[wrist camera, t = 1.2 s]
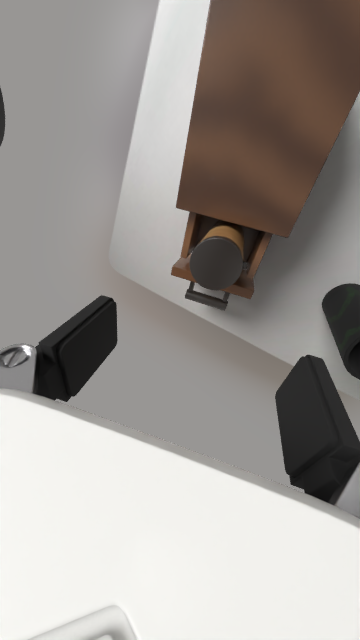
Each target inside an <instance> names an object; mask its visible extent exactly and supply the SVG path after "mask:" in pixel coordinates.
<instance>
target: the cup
mask: <svg viewBox="0 0 360 640" xmlns="http://www.w3.org/2000/svg"><path fill="white" fill-rule="evenodd" d="M322 308H323V311H324V313H325V316H326V319H327V321H328V324H329V326H330V329H331V332H332V334H333V337H334V340H335V342H336V345H337V347H338V350H339V353H340V355H341V358H342V360H343V363H344V365H345V367H346V369H347V371H348V372H349V373H350V374H351V375H352V376H354V377H356V378H358V379H359V380H360V285H358V284H343V285H340V286H337V287H335V288H333V289H332V290H331V291H329V292H328V293H327V294H326V295H325V297H324V299H323V302H322Z"/></svg>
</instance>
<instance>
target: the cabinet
mask: <svg viewBox="0 0 360 640" xmlns="http://www.w3.org/2000/svg"><path fill="white" fill-rule="evenodd" d="M359 92H360V0H210V6H209V12H208V18H207V24H206V30H205V36H204V42H203V48H202V54H201V60H200V66H199V72H198V78H197V84H196V90H195V96H194V102H193V108H192V114H191V120H190V126H189V132H188V138H187V144H186V150H185V156H184V162H183V168H182V173H181V179H180V185H179V191H178V197H177V203H176V208H178V209H182V210H186V211H190V212H193V213H197V214H201V215H204V216H208V217H212V218H215V219H219V220H223V221H227V222H230V223H234V224H238V225H241V226H245V227H249V228H253V229H256V230H260V231H264V232H267V233H271V234H275V235H278V236H282V237H286V238H288V237H289V235H290V233H291V231H292V229H293V226H294V224H295V222H296V220H297V218H298V216H299V214H300V212H301V210H302V208H303V206H304V204H305V202H306V200H307V198H308V196H309V194H310V192H311V190H312V188H313V186H314V184H315V182H316V180H317V178H318V175H319V173H320V171H321V169H322V167H323V165H324V163H325V161H326V159H327V157H328V155H329V153H330V151H331V149H332V147H333V145H334V143H335V141H336V139H337V137H338V135H339V133H340V131H341V129H342V127H343V124H344V122H345V120H346V118H347V116H348V114H349V112H350V110H351V108H352V106H353V104H354V102H355V100H356V98H357V96H358V94H359Z"/></svg>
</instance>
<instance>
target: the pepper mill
mask: <svg viewBox="0 0 360 640" xmlns="http://www.w3.org/2000/svg"><path fill="white" fill-rule="evenodd" d="M243 250H244V231H243V228H242V226H241V225H238V224H234V223H230V222H227V221H223V220H221V221H219V222H217V223H216V224H215V225H214V226H213V227H212V228H211V230H210V231H209V232H208V233H207V234H206V236H205V237H204V238H203V239H202V240H201V242H200V243H199V244H198V245H197V246H196V248H195V249H194V250H193V252H192V254H191V257H190V263H189V265H190V271H191V274H192V276H193V278H194V279H195V281H196V282H197V283H198V284H199V285H201V286H202V287H204V288H207V289H210V290H221V289H225V288H227V287H229V286H231V285H232V284H234V283H235V282H236V281H237V279H238V278H239V276H240V274H241V272H242V267H243Z"/></svg>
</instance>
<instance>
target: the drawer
mask: <svg viewBox="0 0 360 640" xmlns="http://www.w3.org/2000/svg"><path fill="white" fill-rule="evenodd" d="M219 221H221V220H219V219H215V218H212V217H208V216H204V215H201V214H197V213H193V212H190V213H189V218H188V223H187V227H186V232H185V237H184V242H183V247H182V252H181V258H180V259H179V260H178V261H177V262H176V263H175V264H174V265H173V267H172V272H171V275H173V276H176V277H180V278H183V279H186V280H189V281H191V282H190V286H189V289H187V292H186V295H185V298H186V299H189V300H193V301H196V302H199V303H202V304H205V305H208V306H212V307H215V308H218V309H221V310H224V311H225V309H226V306H227V303H228V301H227V299H228V297H229V294H230V293H232V294H235V295H238V296H241V297H245V298H248V299H251V297H252V295H253V293H254V282H253V277H254V275H255V273H256V271H257V268H258V266H259V264H260V262H261V259H262V257H263V255H264V253H265V250H266V248H267V246H268V244H269V241H270V239H271V237H272V235H273V234H271V233H267V232H264V231H260V230H256V229H253V228H249V227H245V226H242V228H243V231H244V250H243V262H246V263H247V270H245V269H242V272H241V274H240V276H239V278H238V279H237V281H236V282H235V283H234V284H232V285H231V286H229V287H227V288H225V289H221V290H222V291H225V294H224V297H223V300H222V299H219V298H216V297H212V296H209V295H206V294H203V293H200V292H196V291H193V289H194V285H195V282H196V281H195V279H194V278H193V276H192V274H191V271H190V265H189V263H190V257H191V253H192V251H193V250H194V249H195V248H196V246H197V245H198V244H199V243H200V242H201V240H202V239H203V238H204V237H205V236H206V234H207V233H208V232H209V231H210V230H211V228H212V227H213V226H214V225H215V224H216V223H217V222H219ZM196 283H197V282H196Z"/></svg>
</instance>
